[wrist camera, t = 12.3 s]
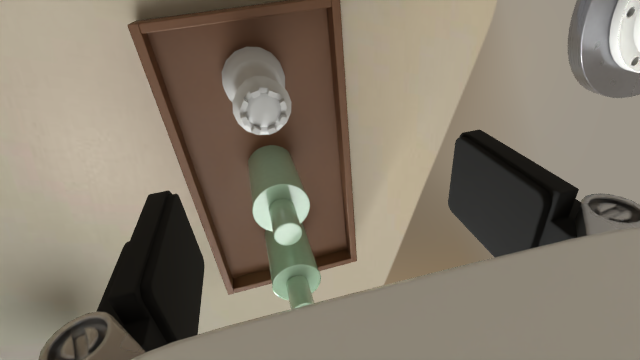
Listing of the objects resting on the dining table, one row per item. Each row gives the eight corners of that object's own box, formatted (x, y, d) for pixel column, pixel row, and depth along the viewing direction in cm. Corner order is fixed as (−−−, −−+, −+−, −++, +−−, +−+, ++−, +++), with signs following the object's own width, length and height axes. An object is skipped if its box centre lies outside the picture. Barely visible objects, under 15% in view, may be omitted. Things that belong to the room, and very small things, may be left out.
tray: (330, -6, 24) (339, -5, 22) (350, 246, 37) (357, 261, 35) (135, 20, 22) (126, 24, 20) (228, 277, 35) (228, 295, 33)
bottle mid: (290, 140, 28) (315, 201, 20) (297, 181, 30) (322, 250, 22) (242, 150, 27) (249, 216, 19) (252, 191, 29) (262, 265, 22)
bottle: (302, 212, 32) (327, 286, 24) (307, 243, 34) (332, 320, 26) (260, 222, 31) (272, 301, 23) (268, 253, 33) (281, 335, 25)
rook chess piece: (288, 101, 26) (310, 142, 19) (230, 112, 25) (232, 159, 19) (277, 40, 24) (298, 62, 17) (213, 51, 23) (209, 79, 16)
